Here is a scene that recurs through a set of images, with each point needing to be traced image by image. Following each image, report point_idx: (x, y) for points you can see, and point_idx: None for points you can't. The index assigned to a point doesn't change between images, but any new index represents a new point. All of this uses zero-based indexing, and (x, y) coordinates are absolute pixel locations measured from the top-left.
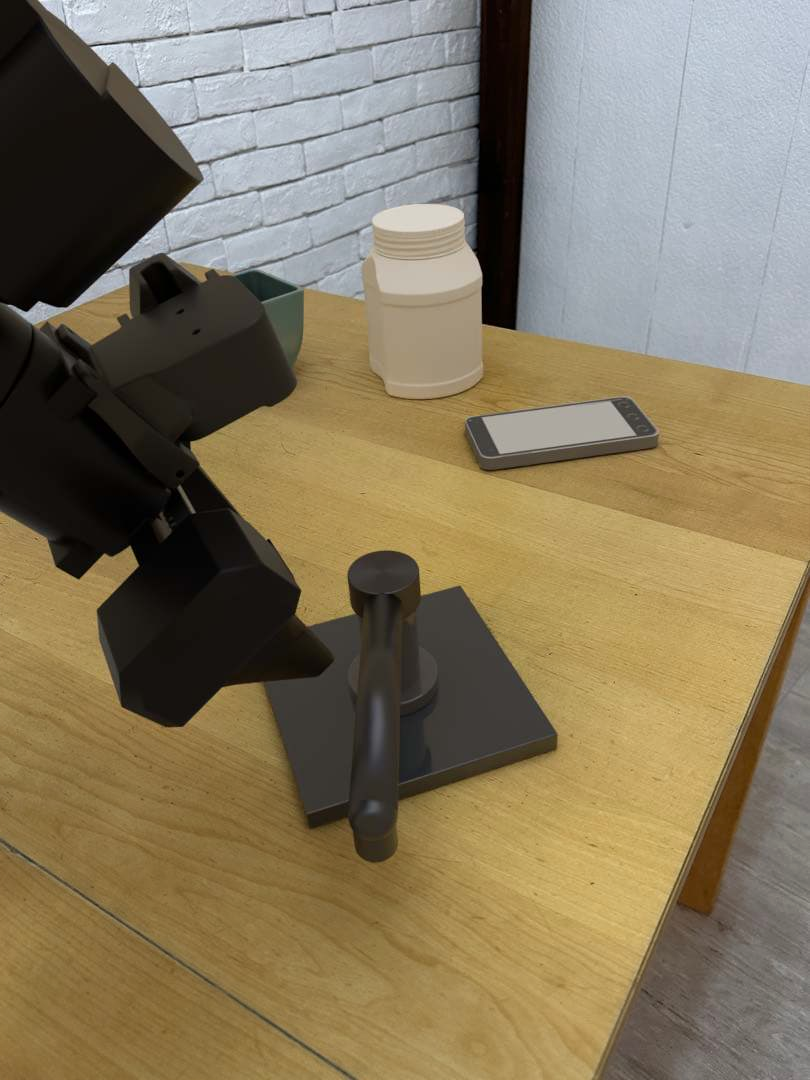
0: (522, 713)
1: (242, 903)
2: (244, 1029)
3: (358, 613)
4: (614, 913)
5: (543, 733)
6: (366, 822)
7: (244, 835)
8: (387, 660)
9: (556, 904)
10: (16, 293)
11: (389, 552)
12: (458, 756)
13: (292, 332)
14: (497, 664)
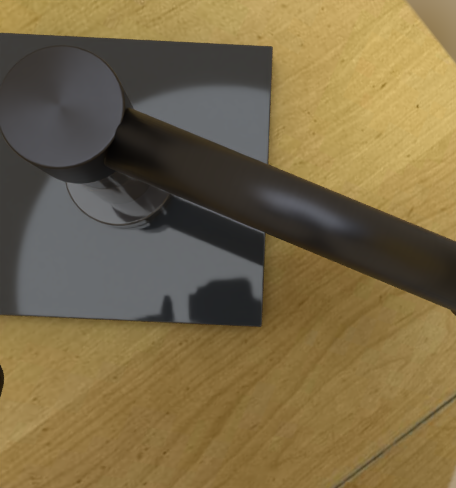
0: (230, 65)
1: (313, 409)
2: (431, 436)
3: (97, 179)
4: (450, 104)
5: (266, 59)
6: None
7: (238, 388)
8: (275, 180)
9: (424, 144)
10: None
11: (14, 75)
12: (256, 152)
13: None
14: (149, 55)
